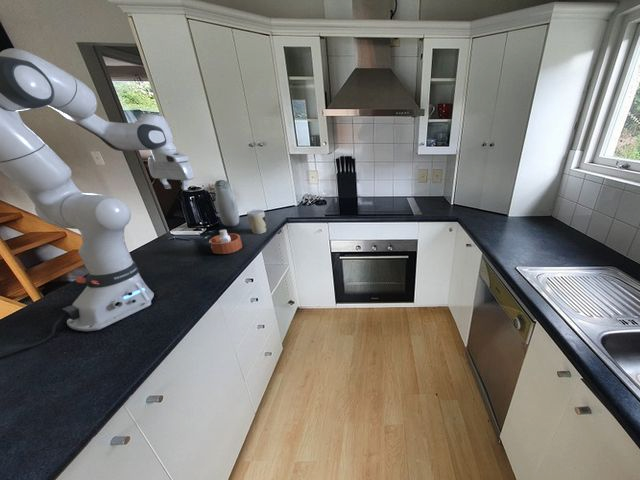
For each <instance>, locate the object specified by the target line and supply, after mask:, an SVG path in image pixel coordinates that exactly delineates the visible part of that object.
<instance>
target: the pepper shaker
mask: <svg viewBox="0 0 640 480" xmlns="http://www.w3.org/2000/svg"><path fill="white" fill-rule="evenodd" d="M218 232H219V235H221V237H220V238H219V239H220V243H226V242H231V239H230V236H229V235H227V234H228V230H227V229H220V230H219V231H218Z"/></svg>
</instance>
